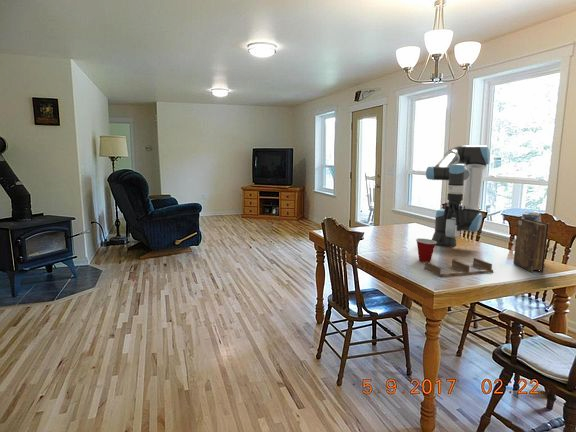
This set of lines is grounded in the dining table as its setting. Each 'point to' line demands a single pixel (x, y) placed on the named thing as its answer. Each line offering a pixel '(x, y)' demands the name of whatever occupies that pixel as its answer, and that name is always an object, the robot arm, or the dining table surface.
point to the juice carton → (532, 216)
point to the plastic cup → (425, 249)
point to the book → (531, 244)
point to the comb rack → (460, 268)
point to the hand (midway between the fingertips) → (452, 234)
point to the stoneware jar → (450, 227)
